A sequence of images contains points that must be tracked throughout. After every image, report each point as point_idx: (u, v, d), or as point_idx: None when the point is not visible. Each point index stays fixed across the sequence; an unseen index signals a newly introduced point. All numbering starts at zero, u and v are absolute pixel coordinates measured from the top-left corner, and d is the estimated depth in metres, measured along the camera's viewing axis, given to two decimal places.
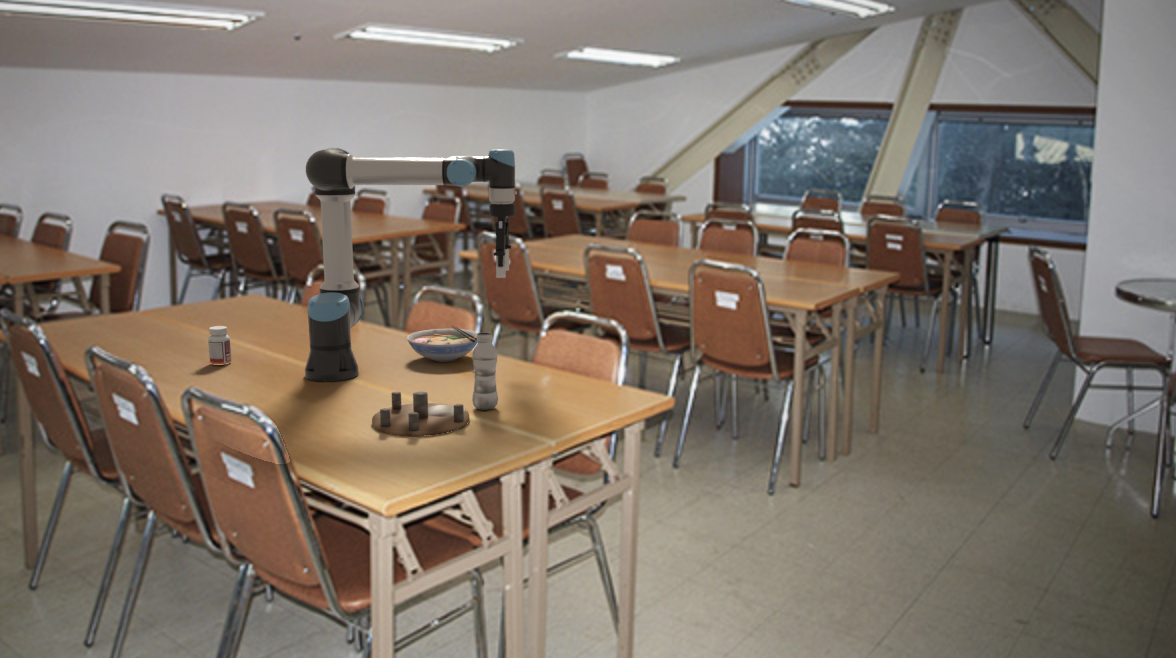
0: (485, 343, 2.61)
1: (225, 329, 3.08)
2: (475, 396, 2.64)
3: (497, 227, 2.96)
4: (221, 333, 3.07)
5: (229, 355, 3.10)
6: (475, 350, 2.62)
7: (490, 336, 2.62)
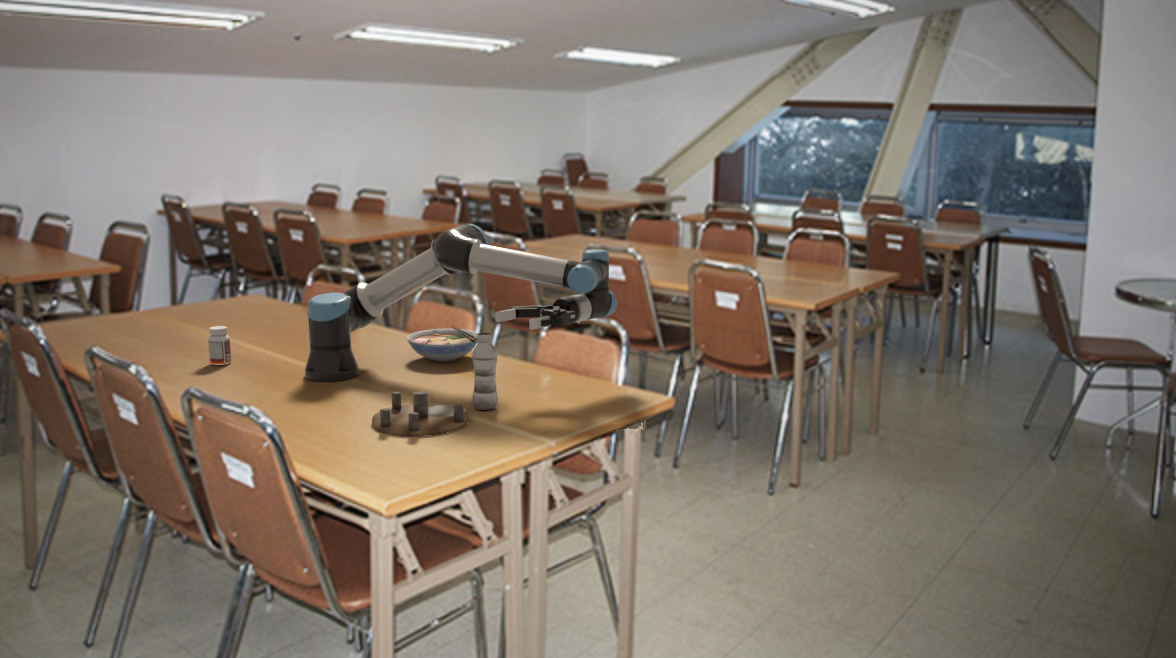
0: (485, 343, 2.61)
1: (225, 329, 3.08)
2: (475, 396, 2.64)
3: (571, 313, 2.74)
4: (221, 333, 3.07)
5: (229, 355, 3.10)
6: (475, 350, 2.62)
7: (490, 336, 2.62)
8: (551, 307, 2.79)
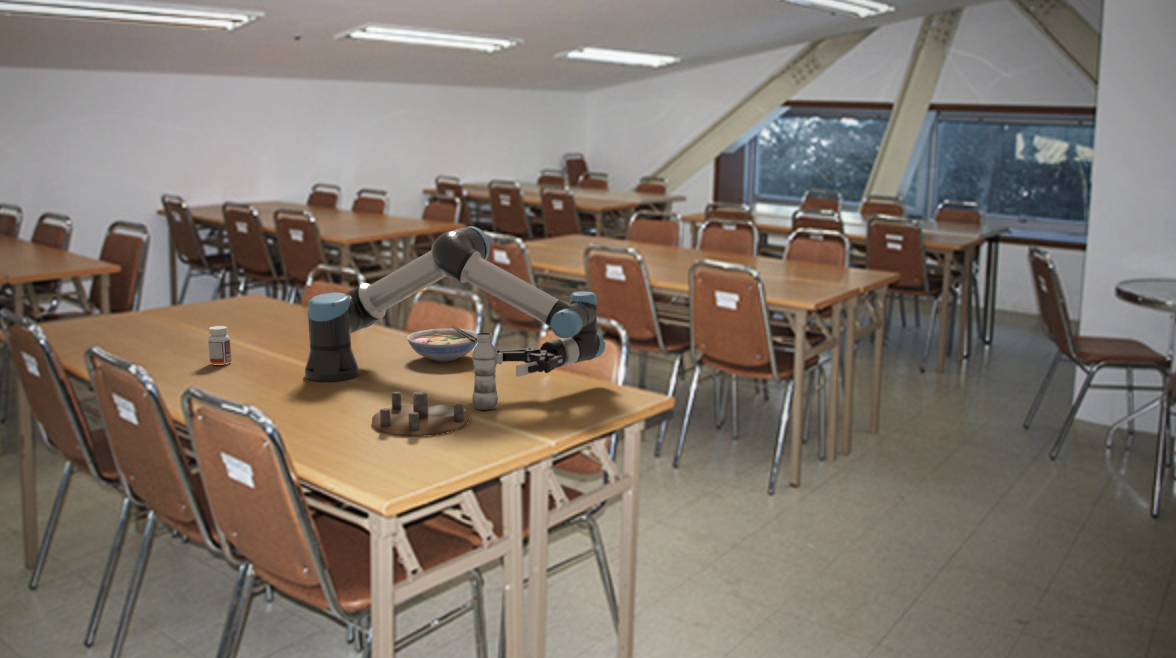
0: (485, 343, 2.61)
1: (225, 329, 3.08)
2: (475, 396, 2.64)
3: (558, 358, 2.72)
4: (221, 333, 3.07)
5: (229, 355, 3.10)
6: (475, 350, 2.62)
7: (490, 336, 2.62)
8: (538, 351, 2.77)
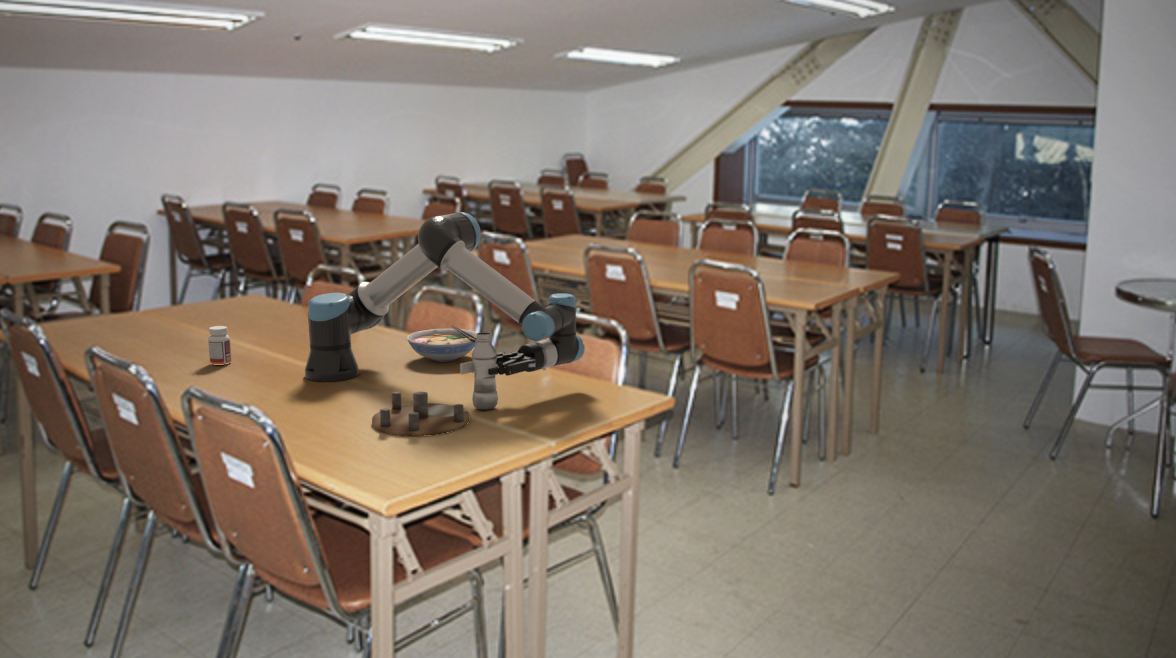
0: (484, 343, 2.61)
1: (225, 329, 3.08)
2: (475, 396, 2.64)
3: (529, 362, 2.66)
4: (221, 333, 3.07)
5: (229, 355, 3.10)
6: (475, 350, 2.62)
7: (489, 336, 2.62)
8: (516, 354, 2.72)
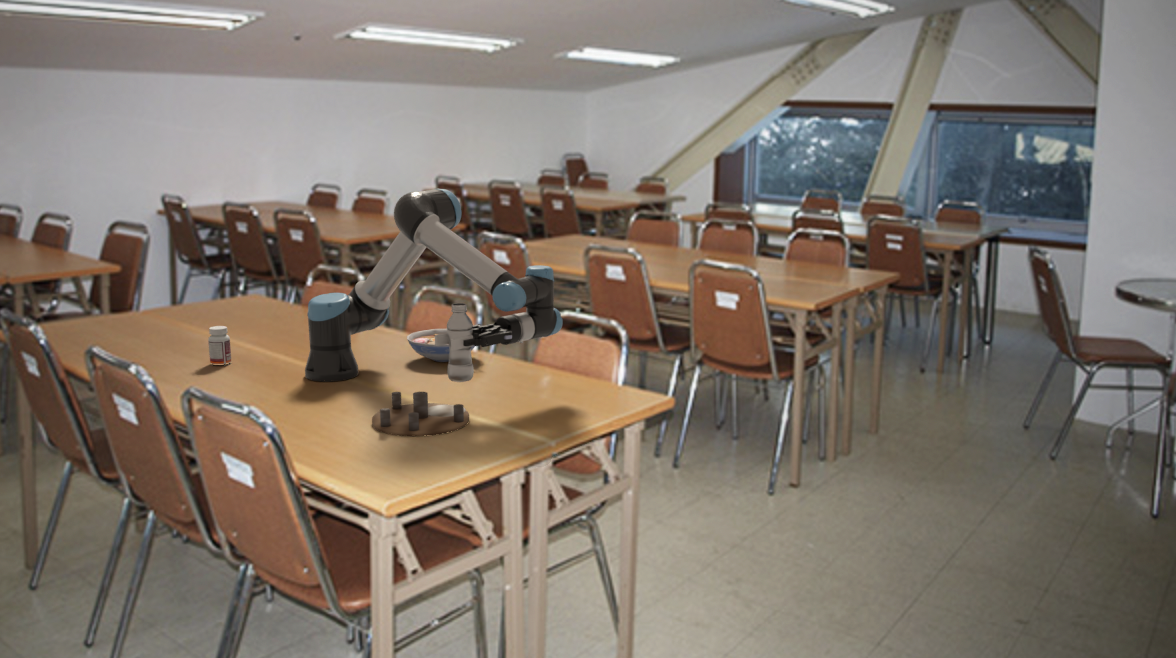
0: (460, 314, 2.56)
1: (225, 329, 3.08)
2: (450, 368, 2.58)
3: (506, 334, 2.61)
4: (221, 333, 3.07)
5: (229, 355, 3.10)
6: (450, 321, 2.56)
7: (465, 306, 2.56)
8: (492, 326, 2.67)
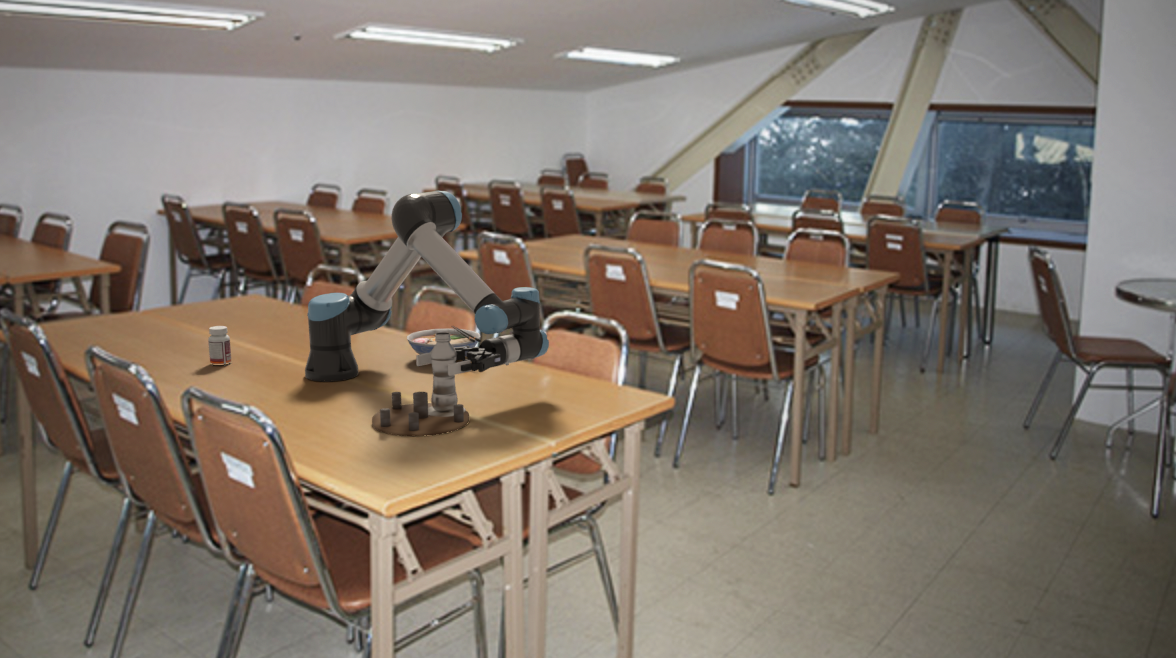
0: (443, 343, 2.55)
1: (225, 329, 3.08)
2: (434, 397, 2.58)
3: (496, 356, 2.61)
4: (221, 333, 3.07)
5: (229, 355, 3.10)
6: (433, 350, 2.56)
7: (449, 336, 2.56)
8: (476, 349, 2.66)
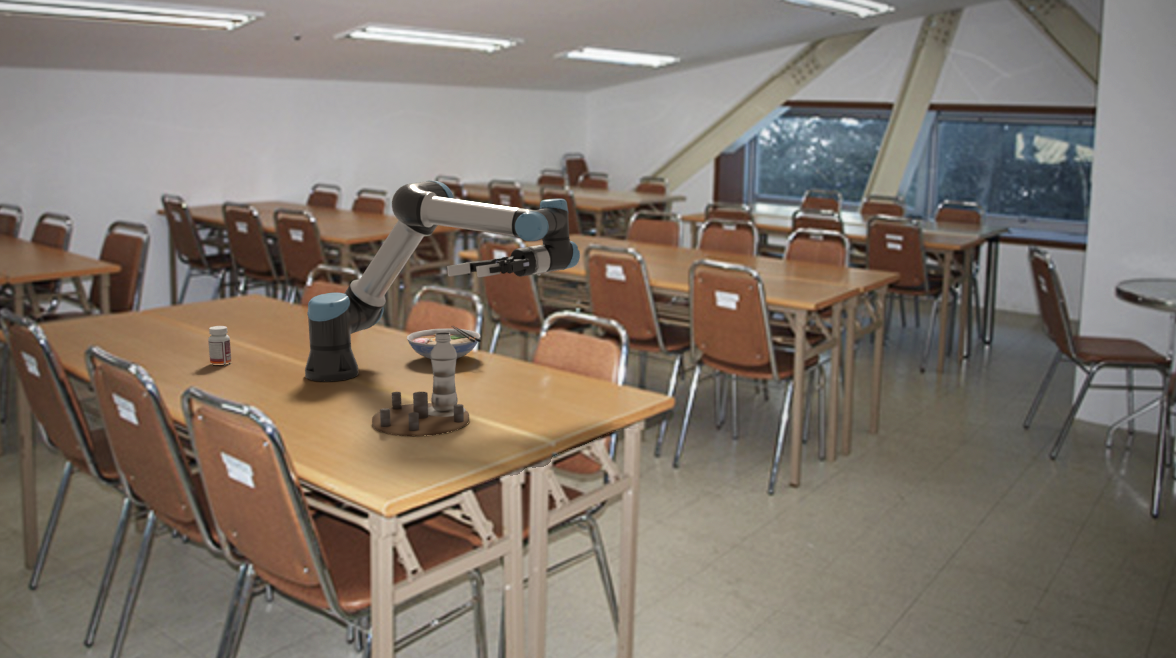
0: (443, 343, 2.55)
1: (225, 329, 3.08)
2: (434, 397, 2.58)
3: (524, 261, 2.65)
4: (221, 333, 3.07)
5: (229, 355, 3.10)
6: (433, 350, 2.56)
7: (449, 336, 2.56)
8: (506, 258, 2.71)
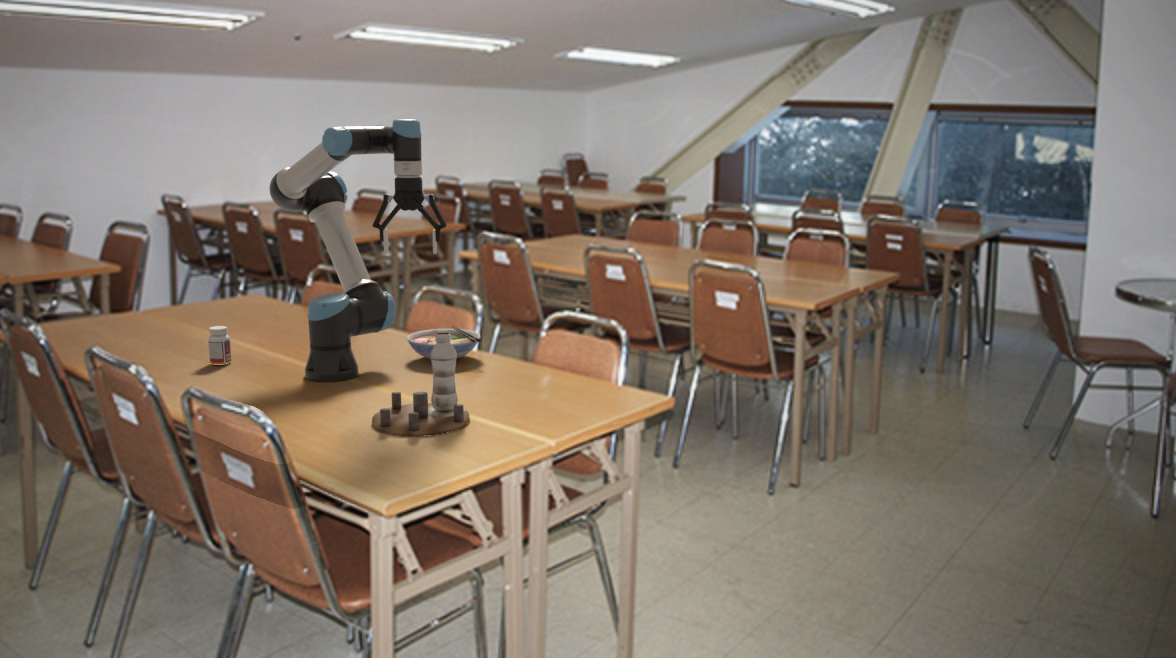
0: (443, 343, 2.55)
1: (225, 329, 3.08)
2: (434, 397, 2.58)
3: None
4: (221, 333, 3.07)
5: (229, 355, 3.10)
6: (433, 350, 2.56)
7: (449, 336, 2.56)
8: None
